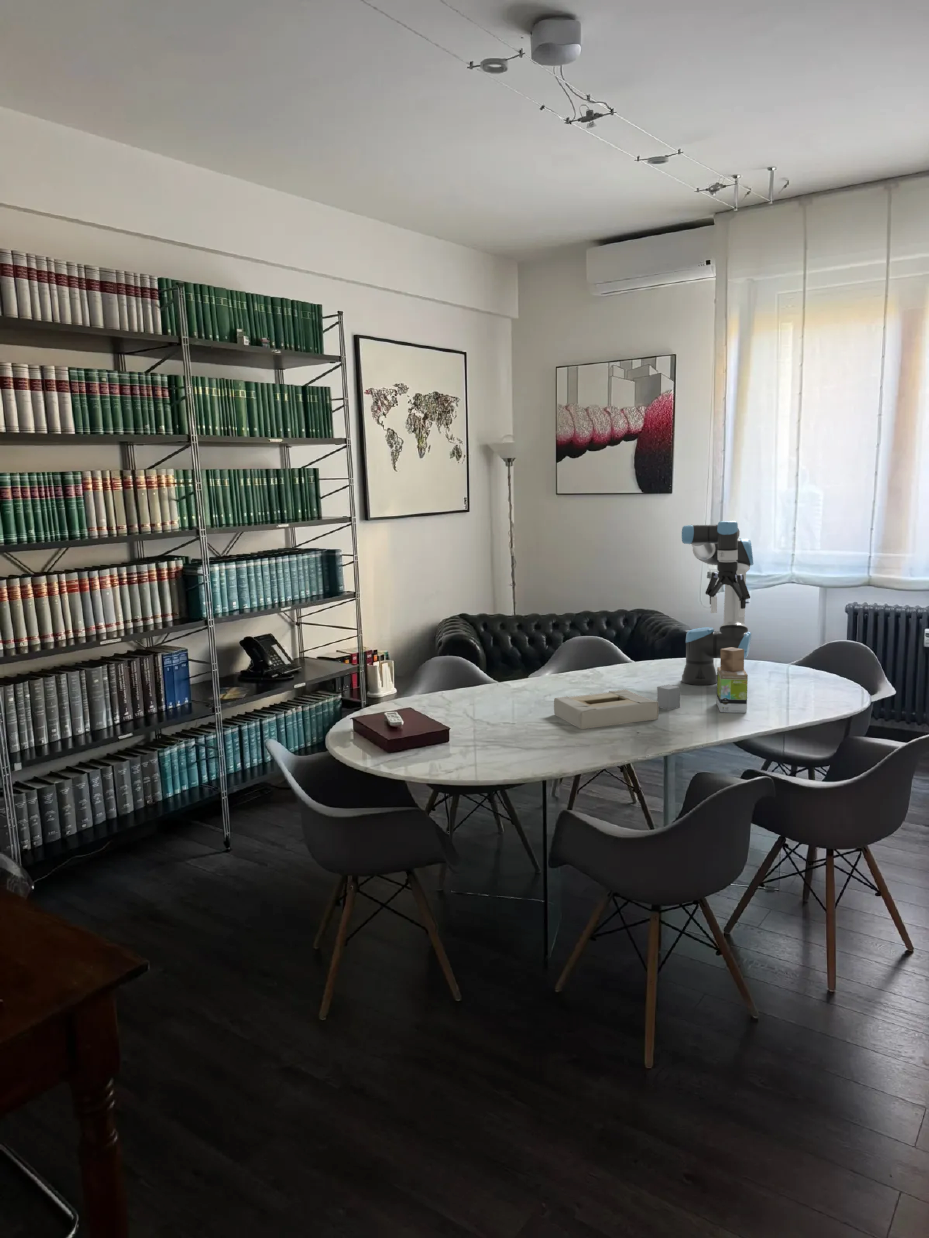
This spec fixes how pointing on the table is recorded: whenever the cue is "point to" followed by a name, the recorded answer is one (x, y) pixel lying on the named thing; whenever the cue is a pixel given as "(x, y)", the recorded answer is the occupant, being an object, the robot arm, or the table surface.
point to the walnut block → (732, 659)
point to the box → (605, 709)
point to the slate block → (668, 697)
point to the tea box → (732, 691)
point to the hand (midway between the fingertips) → (727, 614)
